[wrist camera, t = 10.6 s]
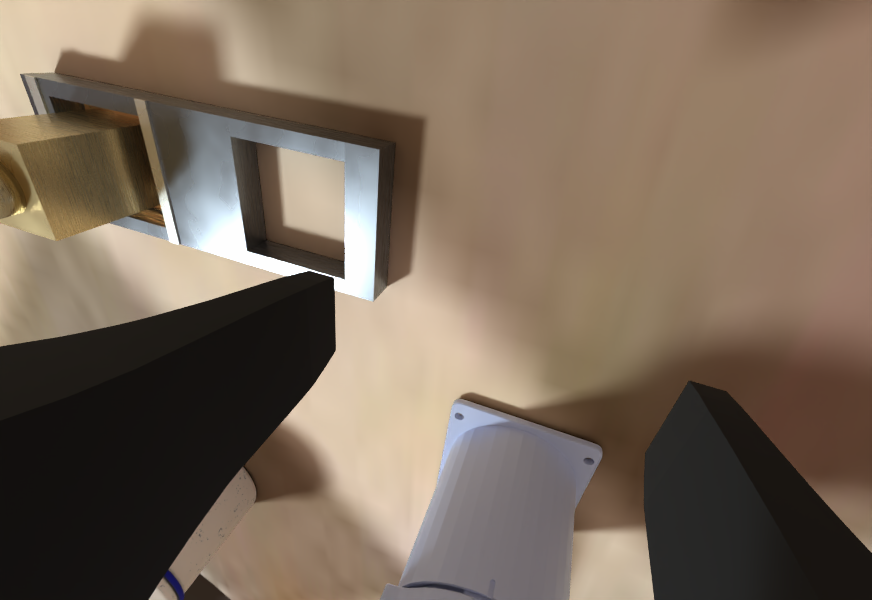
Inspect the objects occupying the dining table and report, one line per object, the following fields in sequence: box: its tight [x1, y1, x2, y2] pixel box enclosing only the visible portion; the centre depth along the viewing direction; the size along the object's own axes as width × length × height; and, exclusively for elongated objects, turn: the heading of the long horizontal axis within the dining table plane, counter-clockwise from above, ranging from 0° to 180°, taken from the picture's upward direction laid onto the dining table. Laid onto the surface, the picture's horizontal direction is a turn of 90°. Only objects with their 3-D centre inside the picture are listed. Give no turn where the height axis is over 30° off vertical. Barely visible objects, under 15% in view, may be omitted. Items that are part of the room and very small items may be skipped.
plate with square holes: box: [20, 73, 395, 301], centre depth 21 cm, size 7×19×2 cm, turn 83°
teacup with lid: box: [149, 467, 256, 600], centre depth 33 cm, size 12×9×12 cm
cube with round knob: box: [0, 109, 160, 241], centre depth 19 cm, size 4×4×7 cm
